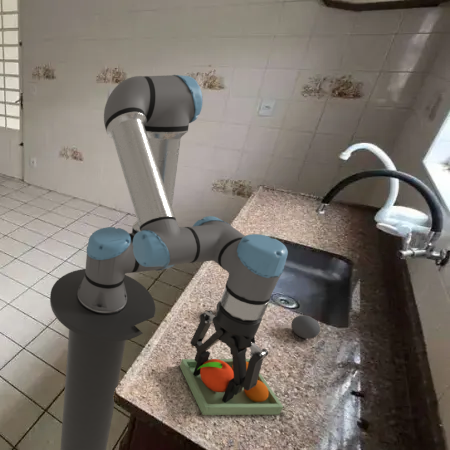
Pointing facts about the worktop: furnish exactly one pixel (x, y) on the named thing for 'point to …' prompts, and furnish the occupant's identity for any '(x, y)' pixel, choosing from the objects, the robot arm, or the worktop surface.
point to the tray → (212, 400)
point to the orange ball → (258, 392)
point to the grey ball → (305, 326)
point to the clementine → (216, 374)
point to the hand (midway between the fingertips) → (212, 385)
